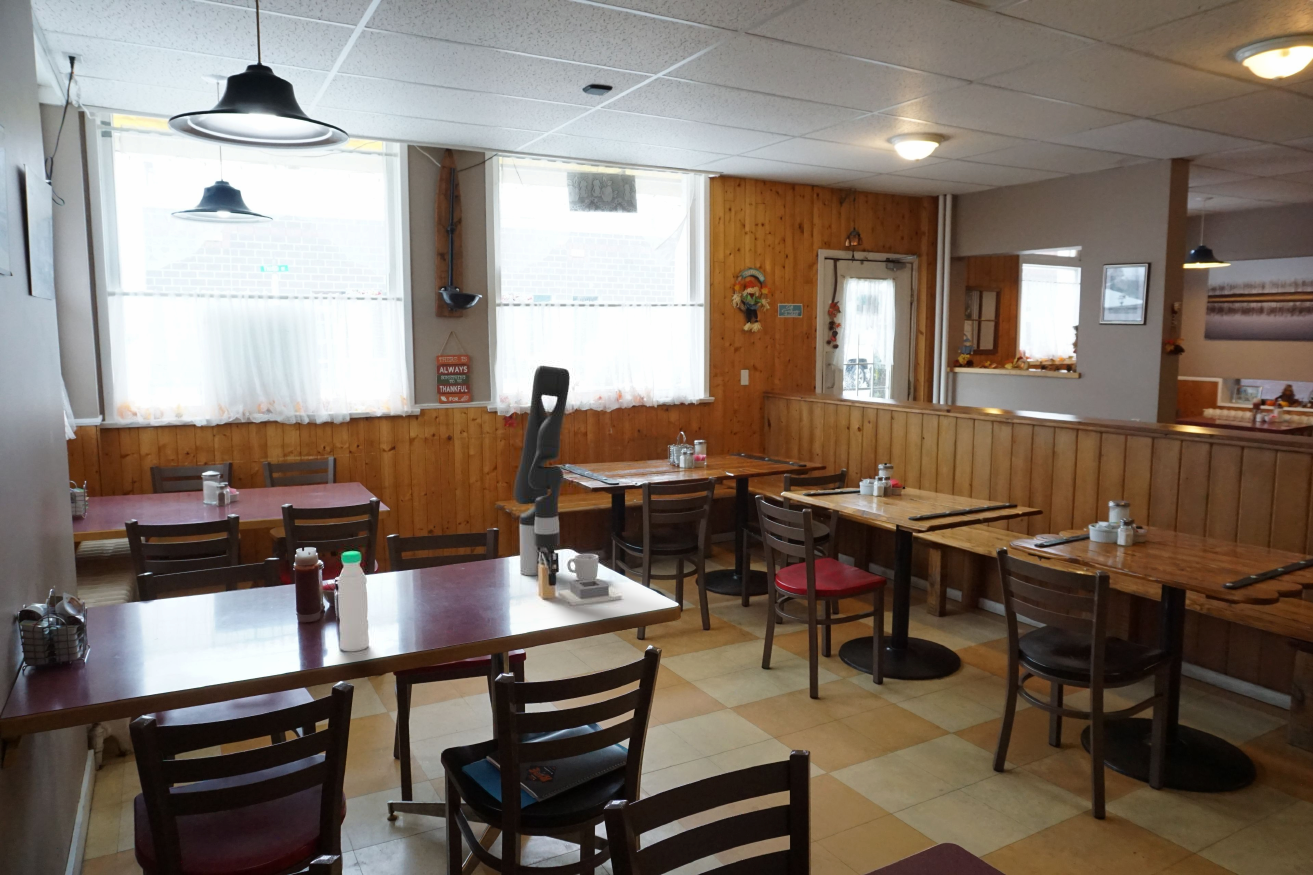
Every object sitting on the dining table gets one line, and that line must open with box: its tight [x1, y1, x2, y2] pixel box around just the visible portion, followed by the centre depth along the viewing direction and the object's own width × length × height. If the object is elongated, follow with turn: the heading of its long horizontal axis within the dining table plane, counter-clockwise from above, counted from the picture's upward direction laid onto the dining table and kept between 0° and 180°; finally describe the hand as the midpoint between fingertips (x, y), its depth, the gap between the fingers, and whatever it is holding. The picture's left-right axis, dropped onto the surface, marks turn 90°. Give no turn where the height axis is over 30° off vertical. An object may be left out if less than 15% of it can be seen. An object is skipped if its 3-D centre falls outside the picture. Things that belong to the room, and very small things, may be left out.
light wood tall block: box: [537, 559, 556, 600], centre depth 269 cm, size 4×4×12 cm
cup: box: [567, 553, 599, 581], centre depth 289 cm, size 11×8×8 cm
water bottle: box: [337, 550, 370, 653], centre depth 222 cm, size 7×7×25 cm
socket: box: [557, 578, 622, 606], centre depth 269 cm, size 13×16×4 cm
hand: (547, 582), depth 269 cm, fingers open, 8 cm apart
